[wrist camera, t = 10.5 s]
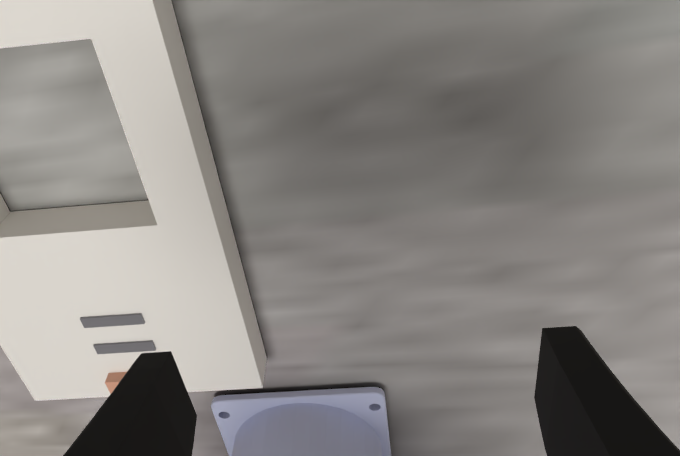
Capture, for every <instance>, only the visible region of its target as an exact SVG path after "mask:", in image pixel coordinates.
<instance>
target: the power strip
mask: <svg viewBox="0 0 680 456" xmlns="http://www.w3.org/2000/svg"><path fill="white" fill-rule="evenodd" d="M83 39H92V42H93V45H94V48H95V51H96V53H97V56H98V59H99V62H100V65H101V67H102V70H103V73H104V76H105V79H106V82H107V84H108V87H109V90H110V93H111V96H112V98H113V101H114V104H115V107H116V110H117V113H118V115H119V118H120V121H121V124H122V127H123V129H124V132H125V135H126V138H127V141H128V144H129V146H130V149H131V152H132V155H133V158H134V160H135V163H136V166H137V169H138V172H139V174H140V177H141V180H142V183H143V186H144V189H145V191H146V194H147V197H148V200H146V201H134V202H122V203H110V204H97V205H85V206H73V207H61V208H49V209H37V210H25V211H13V212H10V211H9V209H8V207H7V205H6V203H5V201H4V199H3V197H2V196H1V194H0V346H1V347H2V349H3V350H4V352H5V354H6V355H7V357H8V358H9V360H10V362H11V363H12V365H13V366H14V368H15V369H16V371H17V373H18V374H19V376H20V377H21V379H22V381H23V382H24V384H25V385H26V387H27V388H28V390H29V392H30V393H31V395H32V396H33V398H34V400H35V401H41V400H58V399H76V398H94V397H109V396H110V394H111V393H112V392H113V390H114V389H115V388H116V386H117V385H118V384H119V382H120V381H121V379H122V378H123V377H124V375H125V374H126V373H127V371H128V370H129V369H130V367H131V366H132V364H133V363H134V362H135V360H136V359H137V358H138V357H139V356H140V354H141V353H153V352H169V351H171V352H172V355H173V357H174V360H175V362H176V365H177V367H178V370H179V372H180V375H181V377H182V380H183V382H184V385H185V387H186V390H187V392H200V391H217V390H235V389H253V388H263V383H264V376H265V369H266V363H267V357H266V353H265V349H264V345H263V342H262V338H261V334H260V330H259V327H258V323H257V319H256V315H255V312H254V308H253V304H252V300H251V297H250V293H249V289H248V285H247V282H246V278H245V274H244V270H243V267H242V263H241V259H240V255H239V252H238V248H237V244H236V240H235V237H234V233H233V229H232V226H231V222H230V218H229V214H228V211H227V207H226V203H225V199H224V196H223V192H222V188H221V184H220V181H219V177H218V173H217V169H216V166H215V162H214V158H213V154H212V151H211V147H210V143H209V139H208V136H207V132H206V128H205V124H204V121H203V117H202V113H201V110H200V106H199V102H198V98H197V95H196V91H195V87H194V83H193V80H192V76H191V72H190V68H189V65H188V61H187V57H186V53H185V50H184V46H183V42H182V38H181V35H180V31H179V27H178V23H177V20H176V16H175V12H174V8H173V5H172V1H171V0H0V48H7V47H17V46H26V45H36V44H45V43H55V42H64V41H74V40H83Z"/></svg>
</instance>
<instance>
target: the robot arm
mask: <svg viewBox="0 0 680 456" xmlns="http://www.w3.org/2000/svg"><path fill="white" fill-rule="evenodd" d="M534 398H535V403H536V408H537V413H538V418H539V423H540V427H541V432H542V437H543V441H544V446H545V450H546V453H547V456H680V450H679V449H678V448H677V447H676V446H675V445H674V444H673V443H672V442H671V440H670V439H669V438H668V437H667V436H666V435H665V434H664V433H663V432H662V431H661V430H660V428H659V427H658V426H657V425H656V424H655V423H654V421H653V420H652V419H651V418H650V417H649V416H648V415H647V413H646V412H645V411H644V410H643V409H642V408H641V407H640V405H639V404H638V403H637V402H636V401H635V400H634V398H633V397H632V396H631V395H630V394H629V392H628V391H627V390H626V389H625V388H624V386H623V385H622V384H621V383H620V381H619V380H618V379H617V378H616V376H615V375H614V374H613V373H612V371H611V370H610V369H609V367H608V366H607V365H606V364H605V362H604V361H603V360H602V358H601V357H600V356H599V354H598V353H597V352H596V350H595V349H594V348H593V346H592V345H591V344H590V342H589V341H588V340H587V338H586V337H585V335H584V334H583V333H582V331H581V330H580V329H579V328H577V327H576V326H572V327H555V328H542V337H541V346H540V354H539V363H538V371H537V380H536V389H535V397H534ZM211 409H212V411H213V414H214V417H215V420H216V422H217V425H218V428H219V430H220V433H221V436H222V438H223V441H224V444H225V446H226V449H227V452H228V454H229V456H391V447H390V437H389V428H388V419H387V409H386V400H385V393H384V391H383V390H382V389H381V388H378V387H359V388H341V389H323V390H305V391H288V392H270V393H252V394H234V395H220V396H216V397H214V398H213V400H212V404H211ZM196 418H197V415H196V412H195V410H194V407H193V405H192V402H191V400H190V397H189V395H188V392H187V390H186V387H185V385H184V382H183V380H182V377H181V375H180V372H179V370H178V367H177V365H176V362H175V360H174V357H173V355H172V352H171V351H169V352H153V353H141V354H140V356H139V357H138V358H137V359H136V360H135V362H134V363H133V364H132V366H131V367H130V369H129V370H128V371H127V373H126V374H125V375H124V377H123V378H122V379H121V381H120V382H119V384H118V385H117V386H116V388H115V389H114V390H113V392H112V393H111V394H110V396H109V397H108V398H107V400H106V401H105V402H104V404H103V405H102V406H101V408H100V409H99V410H98V412H97V413H96V414H95V416H94V417H93V418H92V420H91V421H90V422H89V424H88V425H87V426H86V427H85V429H84V430H83V431H82V433H81V434H80V435H79V436H78V438H77V439H76V440H75V442H74V443H73V444H72V445H71V447H70V448H69V449H68V450H67V452H66V453H65V454H64V455H63V456H192V449H193V442H194V434H195V426H196Z"/></svg>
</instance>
